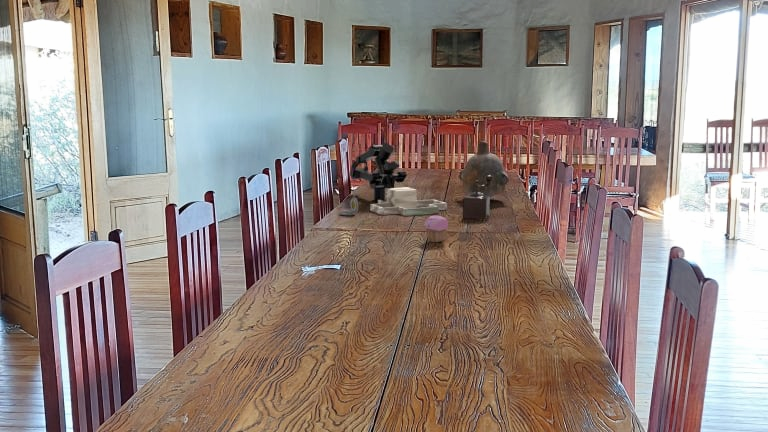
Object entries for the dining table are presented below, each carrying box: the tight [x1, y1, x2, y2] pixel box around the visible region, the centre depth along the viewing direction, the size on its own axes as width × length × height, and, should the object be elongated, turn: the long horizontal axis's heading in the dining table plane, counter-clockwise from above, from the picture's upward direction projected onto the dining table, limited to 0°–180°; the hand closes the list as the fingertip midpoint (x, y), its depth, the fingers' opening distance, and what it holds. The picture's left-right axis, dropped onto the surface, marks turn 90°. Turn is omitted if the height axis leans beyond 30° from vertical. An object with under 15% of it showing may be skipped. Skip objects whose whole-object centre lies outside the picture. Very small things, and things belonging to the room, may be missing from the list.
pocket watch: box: [339, 191, 359, 217], centre depth 340 cm, size 8×8×10 cm
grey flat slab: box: [369, 199, 448, 217], centre depth 355 cm, size 28×34×3 cm
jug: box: [458, 140, 510, 198], centre depth 381 cm, size 24×21×30 cm
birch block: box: [386, 186, 418, 209], centre depth 360 cm, size 9×11×9 cm
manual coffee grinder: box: [462, 175, 494, 220], centre depth 339 cm, size 16×11×18 cm
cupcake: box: [424, 214, 449, 243], centre depth 287 cm, size 9×9×10 cm
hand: (393, 191), depth 367 cm, fingers closed
